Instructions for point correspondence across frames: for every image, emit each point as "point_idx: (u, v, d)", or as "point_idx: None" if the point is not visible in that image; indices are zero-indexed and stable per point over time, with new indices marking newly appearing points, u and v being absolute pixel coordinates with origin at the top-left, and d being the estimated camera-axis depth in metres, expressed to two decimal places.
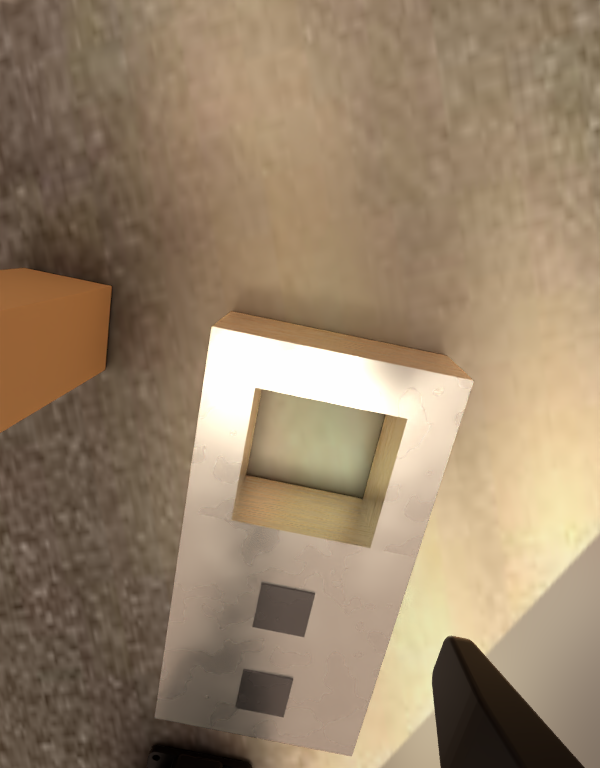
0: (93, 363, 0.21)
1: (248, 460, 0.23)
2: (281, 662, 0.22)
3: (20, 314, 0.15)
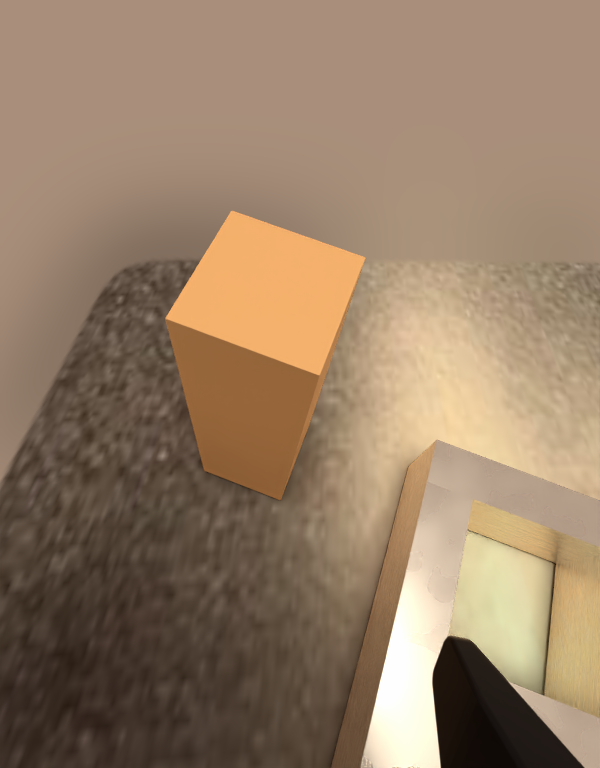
0: (287, 480, 0.22)
1: None
2: None
3: None
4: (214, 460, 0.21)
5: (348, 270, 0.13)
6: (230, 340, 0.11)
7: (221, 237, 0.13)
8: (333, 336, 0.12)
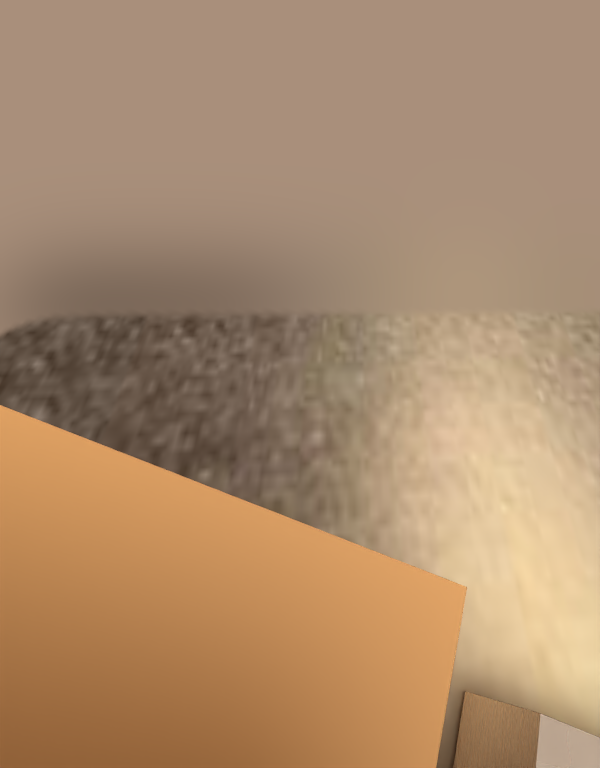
0: None
1: None
2: None
3: None
4: None
5: (390, 686, 0.03)
6: None
7: None
8: None
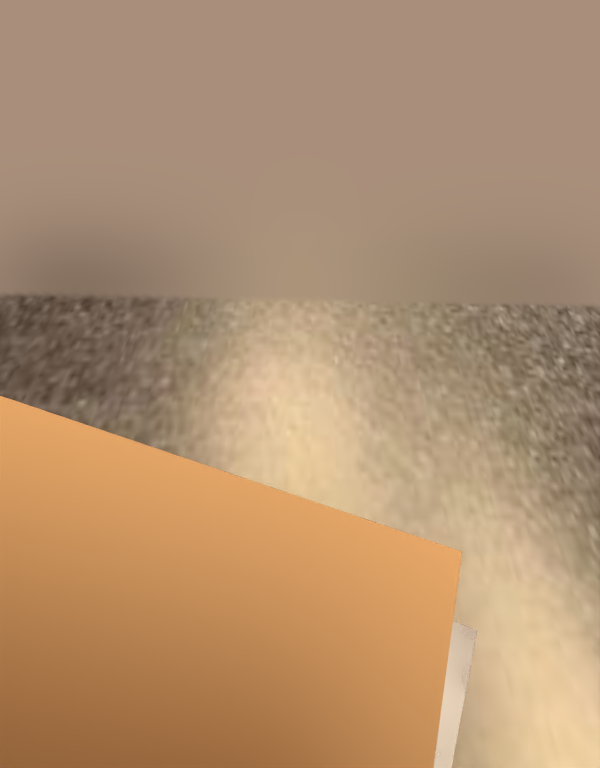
0: None
1: None
2: None
3: None
4: None
5: (395, 645, 0.03)
6: None
7: None
8: None
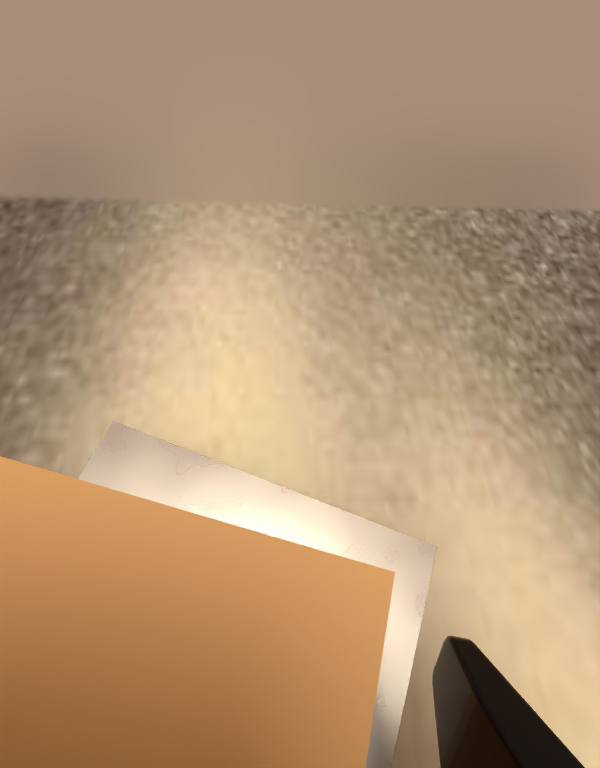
0: None
1: None
2: None
3: None
4: None
5: (347, 640, 0.04)
6: None
7: None
8: None
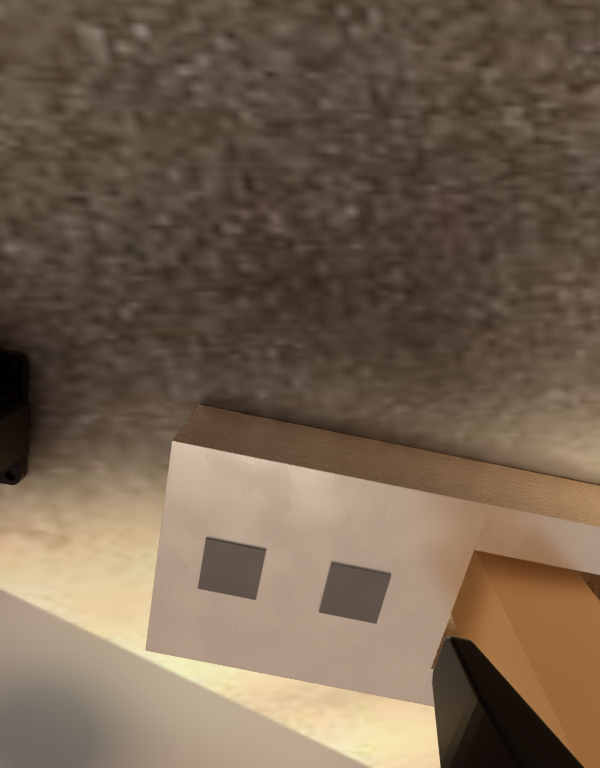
0: None
1: None
2: (279, 588, 0.19)
3: None
4: (471, 564, 0.20)
5: None
6: None
7: None
8: None
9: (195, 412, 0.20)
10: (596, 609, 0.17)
